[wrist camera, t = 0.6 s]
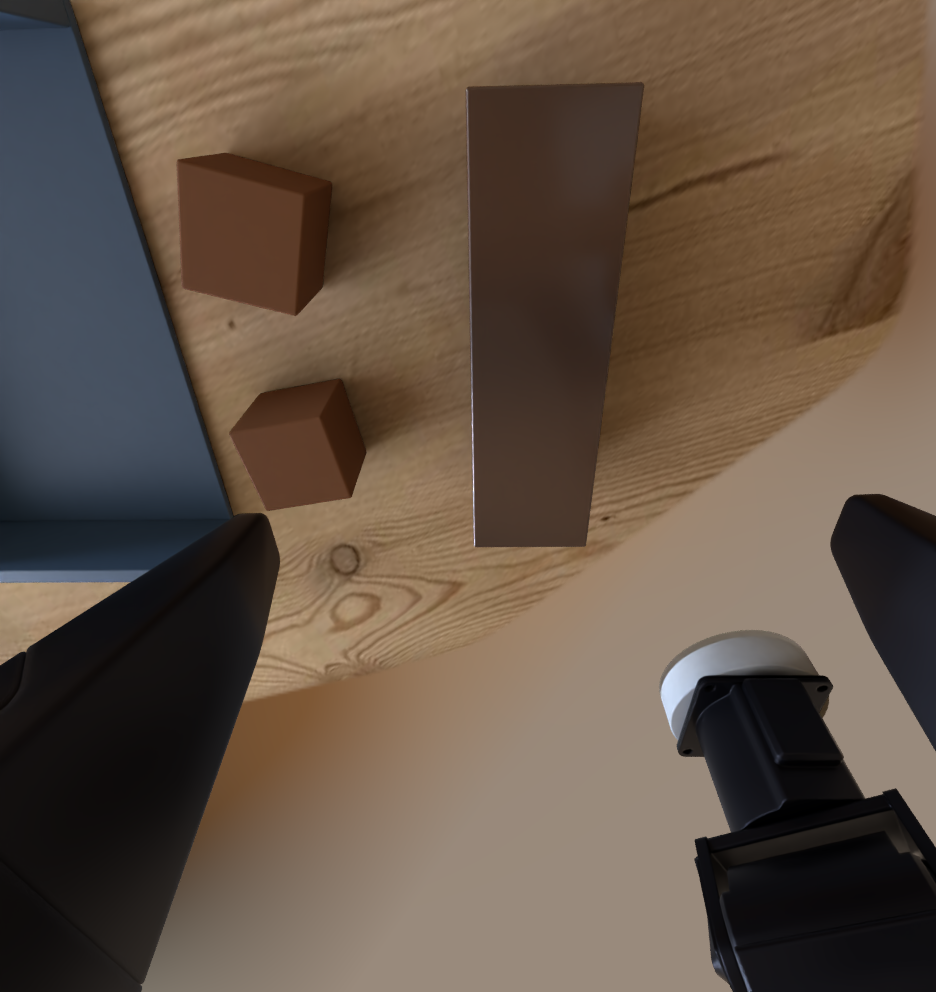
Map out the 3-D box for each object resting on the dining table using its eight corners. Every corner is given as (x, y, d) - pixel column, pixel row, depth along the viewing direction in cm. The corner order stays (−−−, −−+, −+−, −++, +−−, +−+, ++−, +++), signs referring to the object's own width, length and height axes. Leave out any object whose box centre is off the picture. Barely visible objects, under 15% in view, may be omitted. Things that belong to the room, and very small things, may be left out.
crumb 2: (367, 452, 21) (352, 498, 18) (290, 465, 21) (265, 511, 19) (341, 377, 19) (320, 416, 17) (259, 392, 19) (226, 433, 17)
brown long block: (569, 480, 21) (586, 547, 18) (474, 481, 21) (473, 548, 18) (607, 90, 14) (645, 82, 11) (468, 93, 15) (465, 86, 11)
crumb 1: (322, 288, 17) (296, 317, 15) (224, 264, 17) (180, 289, 15) (333, 182, 16) (305, 193, 13) (224, 152, 15) (175, 158, 13)
